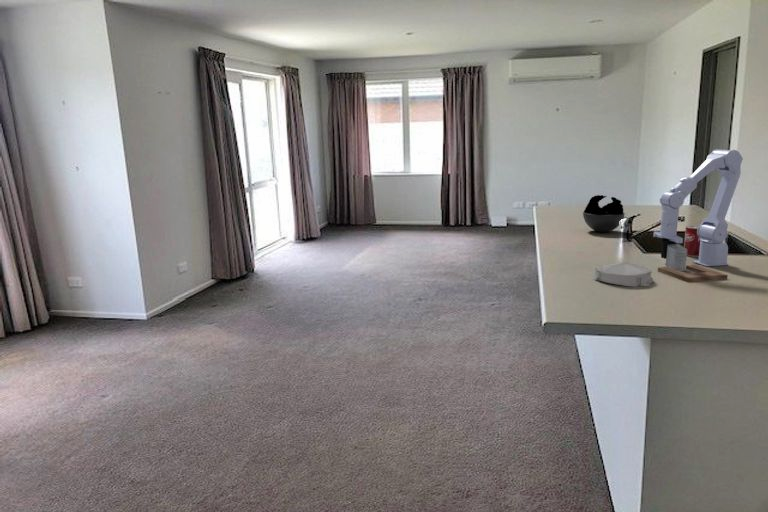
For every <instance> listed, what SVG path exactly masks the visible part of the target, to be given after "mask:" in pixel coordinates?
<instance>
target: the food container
mask: <svg viewBox="0 0 768 512" xmlns="http://www.w3.org/2000/svg"><path fill="white" fill-rule="evenodd" d="M652 272H653V271H652V269H650V268H649V267H646V266H645V265H639V264H635V263H630V262H625V261H623V262H617V263H611V264H605V265H599V266H596V267H595V272H594V273H595V274H594V276H593V278H592V279H593V280H594V281H600V282H603V283H608V284H613V285H618V286H625V287H633V288H636V287H638V286H641V287H643V286H645V287H646V286H647V287H648V286H650V285H651V283H653V282H654V279H653V277H652Z"/></svg>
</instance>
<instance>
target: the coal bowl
mask: <svg viewBox="0 0 768 512" xmlns="http://www.w3.org/2000/svg"><path fill="white" fill-rule="evenodd" d="M607 197H608V196H607V195H603V194H602V195H600V194H597V195H594V196H592V197H591V198H590V199H589V201H588V202H587V205H586V206H585V209H584V210H583V211H582V217H583V219H584V222H585V223H586V225H587V227H589V228H590V229H591V230H593V231H595V232H598V231H599V233H607V232H611V231H613V230H615V229H617V228H618V227H619V226H620V225H619V221H620V220H621V219H623V220H624V219H625V214H626V213H625V212H624V206H623V204H622V201H621V200H620V199H618V198H616V197H614V196H612V197H610V199H611V201H612V202H608V203H607V204H605V205H603V206H600V205H599V202H600V201H602V200H603V199H604V198H605V199H606V198H607Z"/></svg>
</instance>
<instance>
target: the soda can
mask: <svg viewBox="0 0 768 512" xmlns="http://www.w3.org/2000/svg"><path fill="white" fill-rule="evenodd" d="M699 226H700V225H688V226H686V227H685V232H684V240H683V247H684V248H686V249H687V257H692V258H699V251H700V241H701V240H700V237H699V236H698V235H697V229H698V227H699Z"/></svg>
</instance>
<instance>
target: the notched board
mask: <svg viewBox="0 0 768 512" xmlns="http://www.w3.org/2000/svg"><path fill="white" fill-rule="evenodd" d="M685 270H687V271H691V272H690V273H688V272H685V271H679V270H676V269H673V268H670V267H667V266H658V267H657V272H658V273H661V274H664V275H666V276H670V277H673V278H675V279H678V280H681V281H682V282H683V281H684V282H686V283H692V282H704V281H717V280H727V279H728V276H729V275H728V274H726V273H723V272H720V271H717V270H714V269H711V268H708V267H704V266H702V265H701V266H700V265H699V264H698V265H697V264H689V265H687V264H686V268H685Z"/></svg>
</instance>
